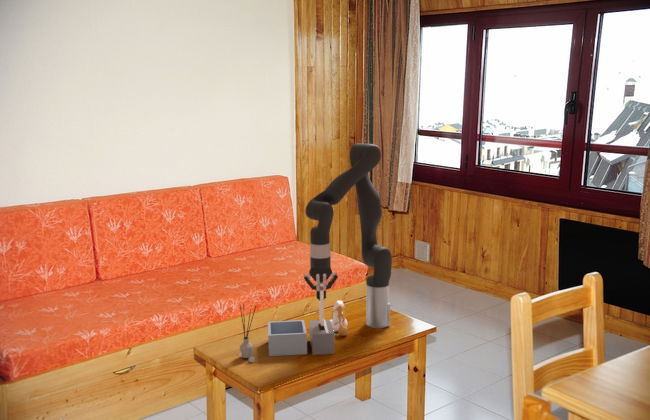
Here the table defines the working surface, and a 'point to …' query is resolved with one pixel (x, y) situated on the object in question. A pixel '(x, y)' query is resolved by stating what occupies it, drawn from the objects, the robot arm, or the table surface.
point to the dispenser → (321, 337)
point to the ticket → (321, 305)
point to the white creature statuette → (335, 318)
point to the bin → (287, 338)
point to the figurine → (342, 329)
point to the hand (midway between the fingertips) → (321, 299)
